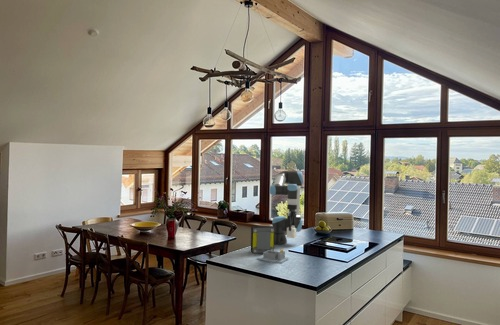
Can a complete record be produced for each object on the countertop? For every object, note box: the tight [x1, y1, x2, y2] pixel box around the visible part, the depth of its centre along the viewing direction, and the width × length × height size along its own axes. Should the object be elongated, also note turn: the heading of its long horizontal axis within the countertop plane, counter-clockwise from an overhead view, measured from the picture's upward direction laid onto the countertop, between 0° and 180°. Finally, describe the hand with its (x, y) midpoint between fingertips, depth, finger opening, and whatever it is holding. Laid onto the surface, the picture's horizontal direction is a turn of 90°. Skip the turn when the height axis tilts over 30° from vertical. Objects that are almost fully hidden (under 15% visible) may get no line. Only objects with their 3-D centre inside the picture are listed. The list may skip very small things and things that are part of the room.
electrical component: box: [250, 225, 275, 254], centre depth 294 cm, size 18×10×20 cm, turn 101°
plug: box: [286, 228, 297, 239], centre depth 283 cm, size 4×6×7 cm
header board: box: [256, 248, 289, 264], centre depth 272 cm, size 12×20×9 cm, turn 61°
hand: (291, 234), depth 283 cm, fingers closed on plug, 4 cm apart
